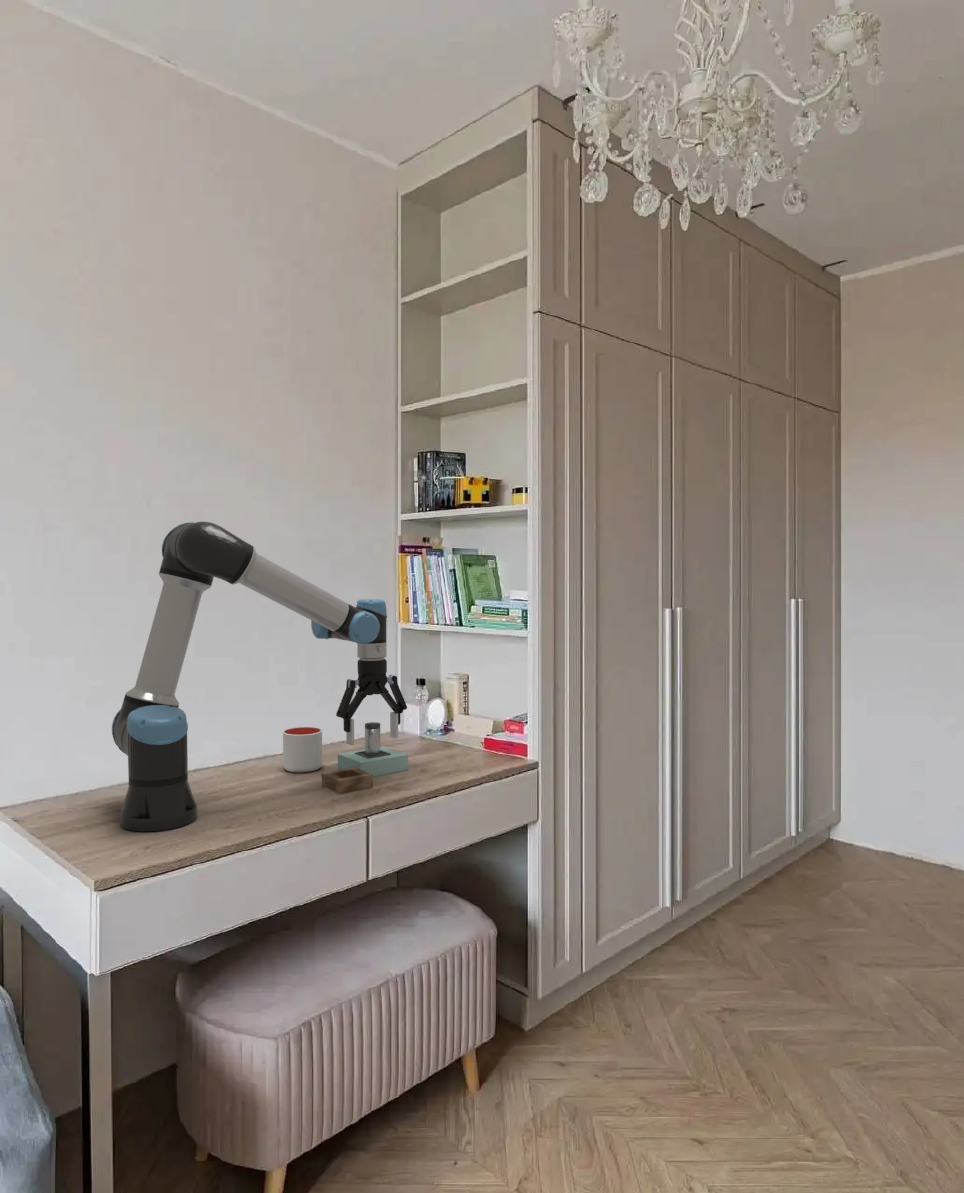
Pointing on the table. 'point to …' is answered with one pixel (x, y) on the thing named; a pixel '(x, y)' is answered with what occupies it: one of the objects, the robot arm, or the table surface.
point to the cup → (302, 749)
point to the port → (374, 761)
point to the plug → (372, 739)
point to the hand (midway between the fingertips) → (372, 740)
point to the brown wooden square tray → (347, 780)
